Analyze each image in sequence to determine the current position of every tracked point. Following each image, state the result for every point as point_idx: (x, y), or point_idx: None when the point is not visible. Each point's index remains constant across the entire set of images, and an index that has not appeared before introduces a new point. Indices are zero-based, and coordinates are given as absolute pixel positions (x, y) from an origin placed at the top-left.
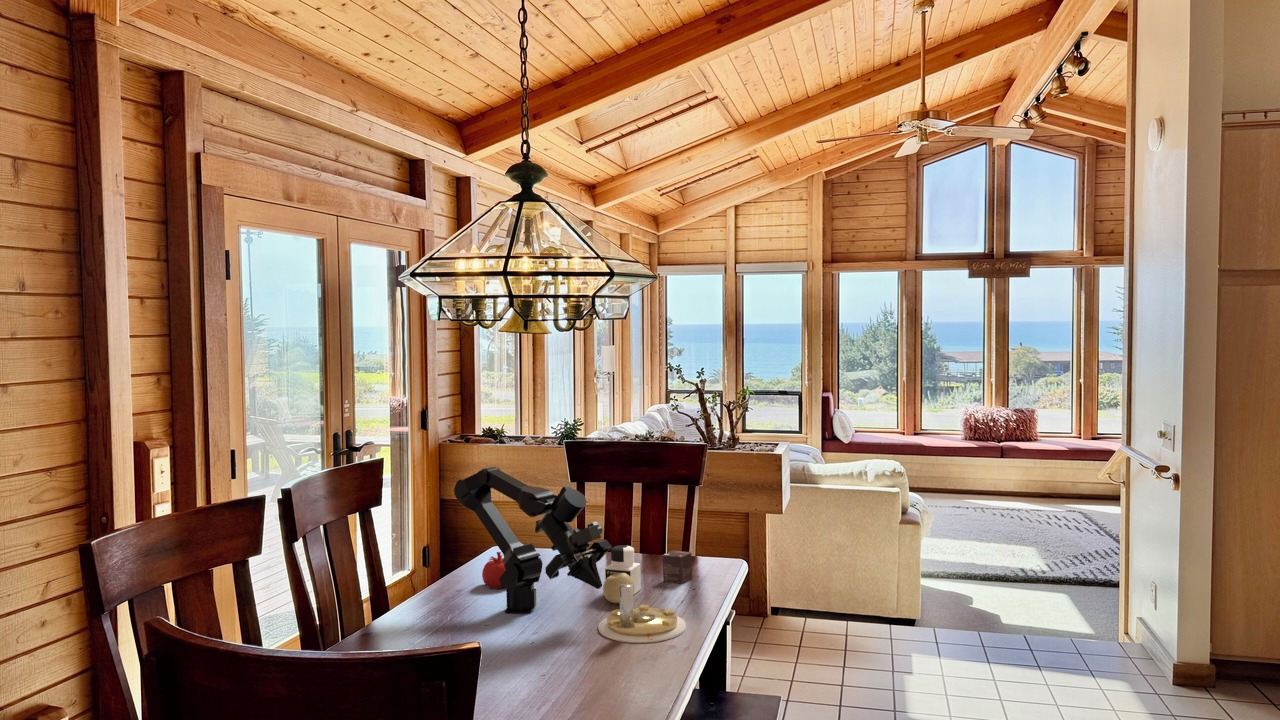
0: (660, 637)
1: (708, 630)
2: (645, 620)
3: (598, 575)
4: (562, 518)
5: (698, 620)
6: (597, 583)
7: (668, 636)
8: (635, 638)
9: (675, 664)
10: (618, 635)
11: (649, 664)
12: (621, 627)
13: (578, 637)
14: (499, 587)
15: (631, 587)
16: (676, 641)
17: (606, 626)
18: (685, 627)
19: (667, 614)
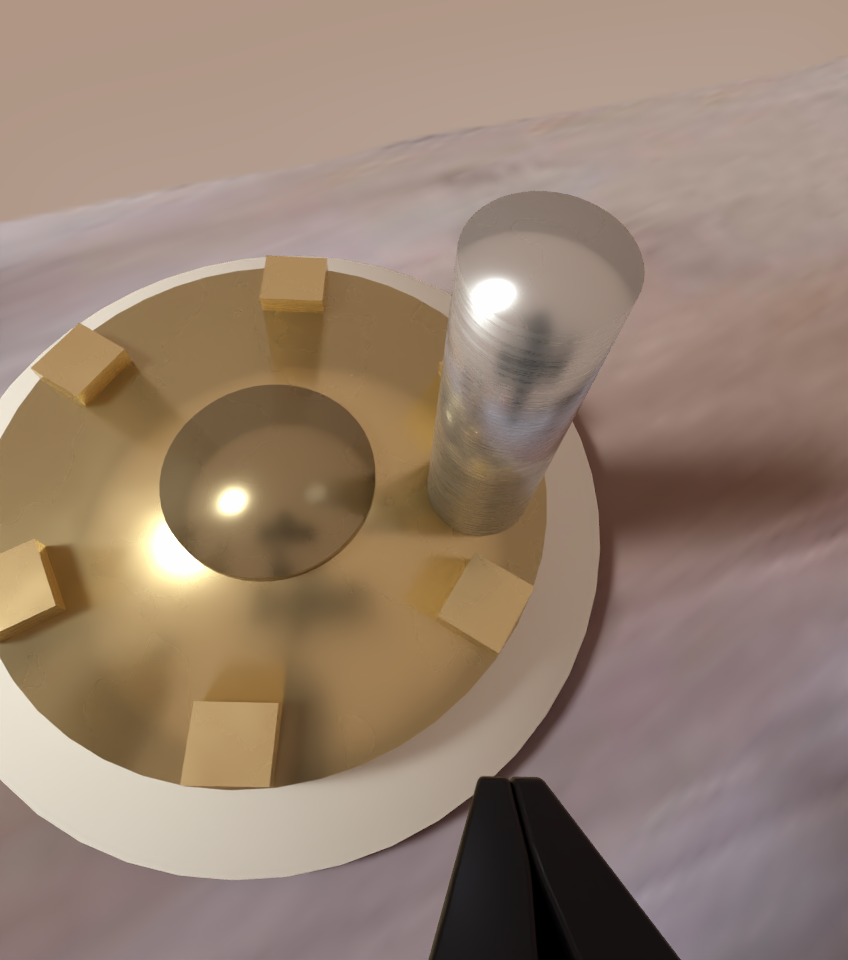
0: (438, 301)
1: (173, 188)
2: (339, 410)
3: (460, 951)
4: None
5: (15, 285)
6: (580, 831)
7: (401, 275)
8: None
9: (661, 145)
10: (552, 527)
11: (740, 221)
12: (530, 503)
13: (718, 819)
14: None
15: (547, 198)
16: (407, 245)
17: (441, 725)
18: (206, 268)
19: (127, 360)
